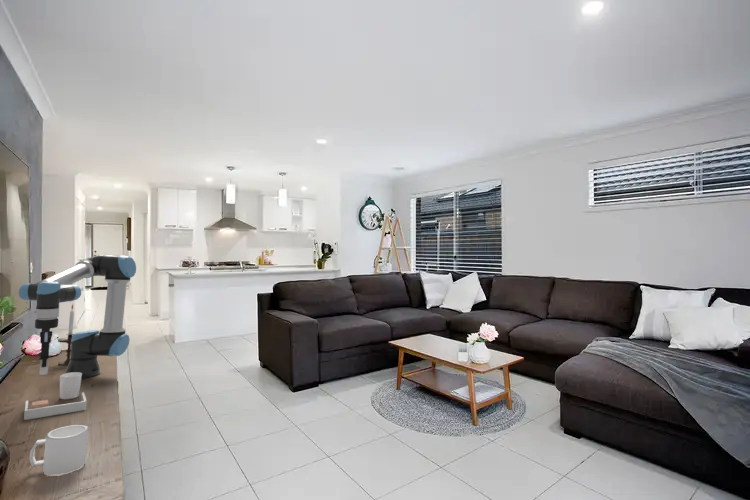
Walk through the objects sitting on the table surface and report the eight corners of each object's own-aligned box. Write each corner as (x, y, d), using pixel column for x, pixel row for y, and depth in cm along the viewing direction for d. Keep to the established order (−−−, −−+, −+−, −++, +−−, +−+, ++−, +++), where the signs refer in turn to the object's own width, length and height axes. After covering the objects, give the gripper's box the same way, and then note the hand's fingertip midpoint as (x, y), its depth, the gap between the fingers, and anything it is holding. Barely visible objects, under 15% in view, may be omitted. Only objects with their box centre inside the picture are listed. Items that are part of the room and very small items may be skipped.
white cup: (67, 400, 170) (69, 377, 171) (53, 398, 172) (55, 376, 172) (84, 395, 178) (86, 373, 178) (70, 393, 180) (72, 371, 180)
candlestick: (77, 365, 225) (82, 304, 227) (54, 366, 220) (59, 304, 221) (81, 360, 235) (85, 302, 236) (58, 362, 229) (62, 302, 231)
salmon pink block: (31, 411, 157) (32, 401, 157) (47, 409, 160) (48, 399, 160) (30, 415, 153) (31, 405, 153) (47, 413, 156) (48, 403, 157)
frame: (25, 409, 159) (25, 400, 159) (83, 400, 171) (84, 392, 172) (23, 420, 149) (24, 410, 149) (85, 409, 161) (86, 401, 161)
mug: (22, 482, 109) (25, 443, 109) (33, 465, 118) (36, 429, 118) (82, 472, 115) (85, 435, 116) (88, 456, 124) (91, 423, 125)
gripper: (35, 316, 167) (32, 371, 167) (35, 321, 157) (31, 379, 157) (58, 315, 172) (54, 369, 172) (58, 320, 162) (55, 376, 162)
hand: (43, 374), depth 164 cm, fingers closed
